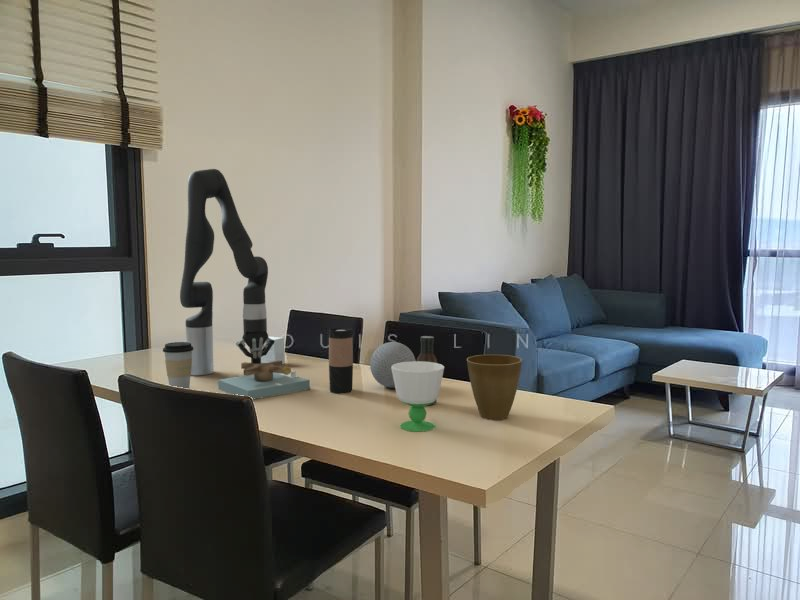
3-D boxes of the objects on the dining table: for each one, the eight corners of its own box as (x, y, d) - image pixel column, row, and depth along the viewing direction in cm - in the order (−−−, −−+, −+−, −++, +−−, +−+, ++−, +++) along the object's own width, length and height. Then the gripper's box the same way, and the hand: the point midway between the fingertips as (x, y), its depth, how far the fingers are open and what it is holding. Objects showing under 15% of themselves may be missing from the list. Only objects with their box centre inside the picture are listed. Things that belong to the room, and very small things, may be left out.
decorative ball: (415, 393, 195) (415, 346, 194) (368, 392, 196) (367, 345, 195) (416, 382, 210) (416, 338, 209) (372, 381, 211) (372, 338, 210)
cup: (404, 437, 151) (404, 373, 149) (383, 422, 163) (383, 363, 162) (453, 430, 156) (454, 369, 155) (429, 416, 169) (429, 359, 167)
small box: (285, 364, 241) (284, 337, 240) (275, 366, 237) (274, 339, 236) (270, 362, 246) (269, 336, 245) (259, 364, 241) (259, 337, 240)
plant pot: (499, 406, 179) (500, 352, 178) (532, 419, 166) (533, 361, 165) (455, 413, 173) (456, 356, 171) (486, 427, 159) (487, 366, 158)
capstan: (225, 381, 197) (224, 366, 196) (260, 371, 212) (260, 357, 211) (273, 387, 188) (272, 371, 188) (306, 377, 203) (305, 362, 203)
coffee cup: (184, 394, 194) (183, 346, 192) (157, 392, 196) (156, 345, 194) (200, 387, 203) (199, 342, 202) (174, 385, 205) (172, 341, 203)
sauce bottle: (435, 406, 179) (435, 338, 177) (414, 405, 181) (414, 338, 179) (438, 401, 185) (439, 335, 184) (418, 400, 187) (418, 334, 185)
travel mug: (334, 395, 193) (333, 331, 191) (325, 389, 200) (325, 328, 198) (356, 392, 196) (356, 330, 194) (347, 387, 203) (347, 327, 201)
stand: (218, 388, 201) (217, 373, 200) (277, 378, 215) (277, 364, 215) (249, 400, 185) (248, 384, 185) (310, 389, 200) (310, 374, 200)
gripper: (239, 319, 197) (240, 373, 199) (278, 316, 204) (279, 368, 206) (231, 317, 203) (233, 369, 205) (269, 314, 210) (270, 364, 212)
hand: (256, 368), depth 205 cm, fingers closed
